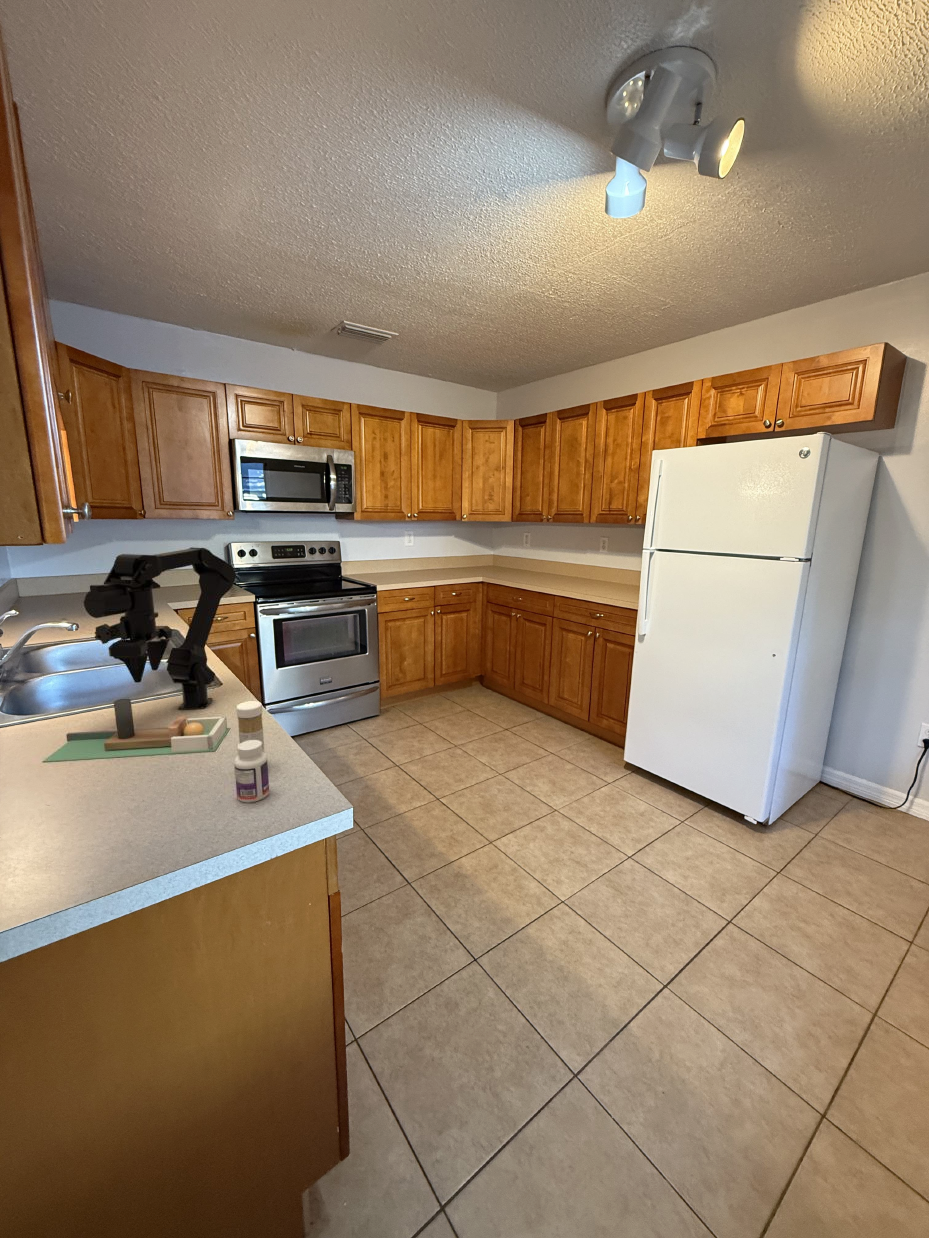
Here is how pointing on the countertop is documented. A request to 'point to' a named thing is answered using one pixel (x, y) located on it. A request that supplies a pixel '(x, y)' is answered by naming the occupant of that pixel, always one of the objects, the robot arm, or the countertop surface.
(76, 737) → the guide rail
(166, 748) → the mat
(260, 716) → the sprinkles bottle
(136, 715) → the countertop surface
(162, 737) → the striker sled
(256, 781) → the pill bottle
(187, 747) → the box
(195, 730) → the foosball
